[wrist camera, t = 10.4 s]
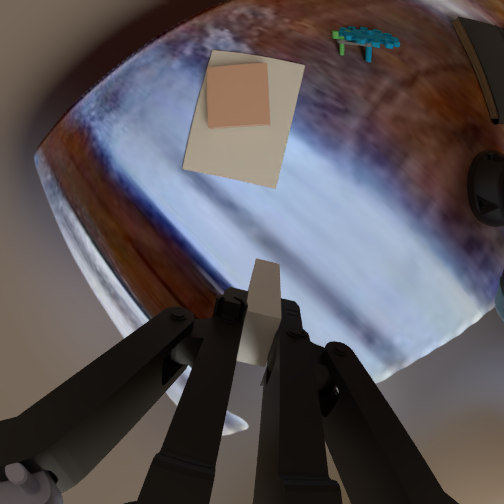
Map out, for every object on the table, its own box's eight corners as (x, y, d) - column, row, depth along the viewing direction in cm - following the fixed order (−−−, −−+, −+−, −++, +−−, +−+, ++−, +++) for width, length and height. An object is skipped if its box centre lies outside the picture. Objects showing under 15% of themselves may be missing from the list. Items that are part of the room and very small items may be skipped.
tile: (270, 123, 36) (267, 63, 33) (208, 127, 36) (206, 68, 34) (270, 126, 38) (267, 68, 35) (211, 130, 39) (210, 72, 36)
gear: (390, 28, 29) (408, 45, 25) (388, 55, 34) (404, 77, 30) (328, 20, 31) (334, 34, 27) (329, 48, 36) (335, 68, 32)
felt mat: (304, 66, 35) (304, 65, 34) (275, 188, 41) (275, 188, 41) (213, 51, 35) (212, 50, 34) (183, 169, 41) (182, 169, 41)
